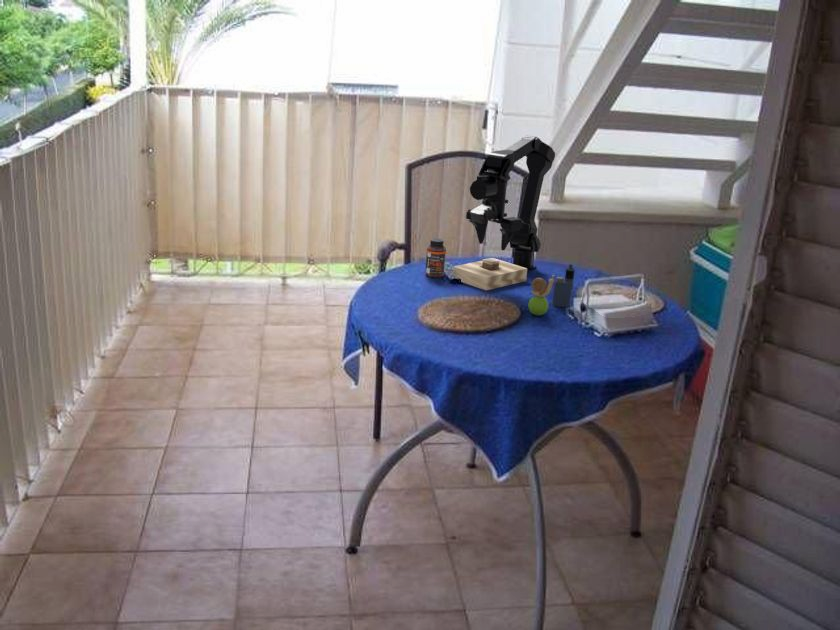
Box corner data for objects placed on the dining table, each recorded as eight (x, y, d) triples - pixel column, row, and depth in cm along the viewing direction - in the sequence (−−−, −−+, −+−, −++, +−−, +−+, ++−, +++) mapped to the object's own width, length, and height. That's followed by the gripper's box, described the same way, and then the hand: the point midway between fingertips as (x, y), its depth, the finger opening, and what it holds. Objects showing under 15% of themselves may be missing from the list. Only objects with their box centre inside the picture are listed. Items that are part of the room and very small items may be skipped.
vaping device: (571, 307, 233) (576, 266, 229) (552, 306, 233) (557, 265, 229) (570, 304, 235) (574, 263, 231) (551, 303, 235) (555, 262, 231)
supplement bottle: (427, 278, 253) (429, 242, 250) (423, 272, 259) (424, 237, 255) (446, 277, 255) (448, 242, 251) (441, 272, 260) (443, 237, 256)
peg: (489, 276, 257) (491, 257, 255) (498, 279, 254) (499, 260, 252) (481, 278, 255) (482, 259, 253) (489, 281, 252) (491, 262, 250)
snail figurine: (545, 320, 221) (550, 277, 217) (524, 315, 224) (528, 272, 220) (554, 315, 225) (558, 273, 222) (532, 310, 229) (536, 268, 225)
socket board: (493, 270, 265) (494, 258, 264) (526, 280, 256) (527, 268, 254) (452, 278, 254) (453, 266, 252) (485, 290, 244) (486, 277, 243)
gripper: (454, 192, 247) (451, 243, 252) (500, 204, 234) (496, 257, 239) (480, 189, 255) (477, 239, 260) (526, 200, 242) (521, 252, 247)
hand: (491, 246), depth 251 cm, fingers open, 9 cm apart
